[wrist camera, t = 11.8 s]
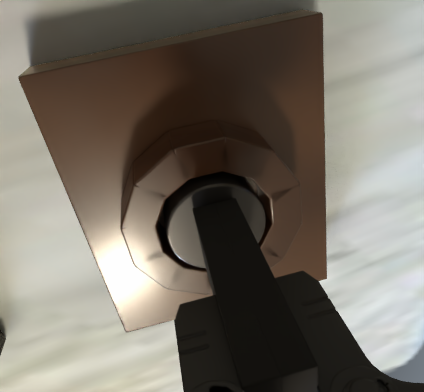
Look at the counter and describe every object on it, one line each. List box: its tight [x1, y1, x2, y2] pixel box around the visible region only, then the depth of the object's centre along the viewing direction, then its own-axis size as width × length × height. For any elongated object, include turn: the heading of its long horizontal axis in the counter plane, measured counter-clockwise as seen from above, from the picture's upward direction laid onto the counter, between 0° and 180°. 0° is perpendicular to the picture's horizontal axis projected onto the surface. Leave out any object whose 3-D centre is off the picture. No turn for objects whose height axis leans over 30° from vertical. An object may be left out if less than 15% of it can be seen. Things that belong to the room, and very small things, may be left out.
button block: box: [18, 9, 327, 332], centre depth 15 cm, size 12×10×4 cm
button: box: [163, 171, 266, 268], centre depth 14 cm, size 4×4×2 cm
